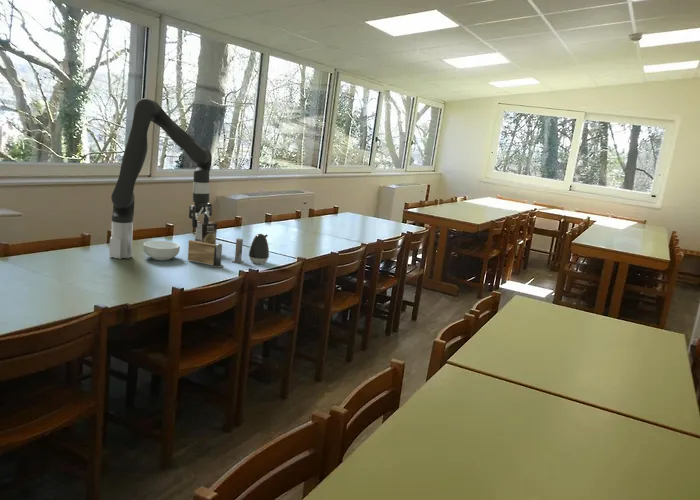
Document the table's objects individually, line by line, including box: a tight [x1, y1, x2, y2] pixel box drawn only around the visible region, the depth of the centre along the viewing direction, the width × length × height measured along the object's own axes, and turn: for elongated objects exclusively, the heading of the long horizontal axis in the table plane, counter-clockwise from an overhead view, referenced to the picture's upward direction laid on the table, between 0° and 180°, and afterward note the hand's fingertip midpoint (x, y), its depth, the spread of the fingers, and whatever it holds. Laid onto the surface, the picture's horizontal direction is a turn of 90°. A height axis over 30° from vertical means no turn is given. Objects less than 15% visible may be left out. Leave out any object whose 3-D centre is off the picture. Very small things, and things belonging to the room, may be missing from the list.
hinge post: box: [211, 243, 224, 269], centre depth 259 cm, size 5×5×11 cm
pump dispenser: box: [248, 233, 270, 265], centre depth 275 cm, size 10×10×15 cm
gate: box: [187, 239, 216, 266], centre depth 261 cm, size 2×14×10 cm, turn 74°
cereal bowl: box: [142, 240, 181, 261], centre depth 262 cm, size 17×17×7 cm
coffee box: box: [194, 220, 218, 245], centre depth 282 cm, size 9×6×16 cm
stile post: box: [231, 237, 245, 265], centre depth 271 cm, size 4×4×12 cm
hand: (200, 226), depth 253 cm, fingers open, 8 cm apart
